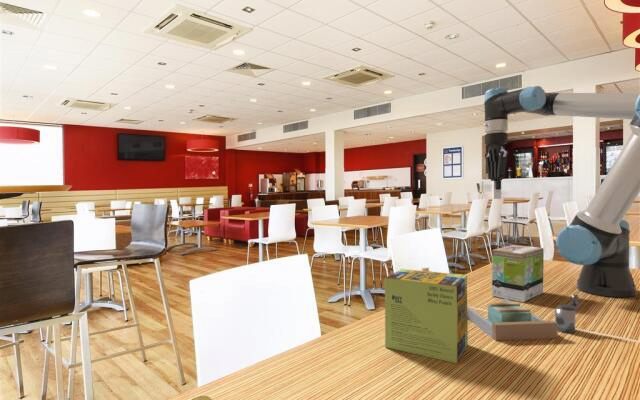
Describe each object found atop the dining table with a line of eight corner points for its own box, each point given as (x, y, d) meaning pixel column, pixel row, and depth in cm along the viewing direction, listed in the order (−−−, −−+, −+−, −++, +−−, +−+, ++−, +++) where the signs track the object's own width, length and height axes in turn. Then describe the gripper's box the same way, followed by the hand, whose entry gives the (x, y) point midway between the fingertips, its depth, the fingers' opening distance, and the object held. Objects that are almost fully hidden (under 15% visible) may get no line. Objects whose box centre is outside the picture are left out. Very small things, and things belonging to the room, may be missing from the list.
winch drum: (571, 326, 92) (571, 292, 92) (583, 332, 88) (583, 297, 88) (551, 327, 92) (551, 293, 92) (562, 333, 88) (562, 298, 88)
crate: (516, 323, 96) (515, 301, 96) (531, 333, 89) (531, 310, 89) (487, 323, 96) (487, 302, 96) (501, 334, 89) (501, 311, 89)
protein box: (458, 364, 75) (457, 285, 74) (384, 348, 83) (383, 277, 82) (469, 344, 83) (468, 274, 83) (401, 331, 92) (400, 267, 91)
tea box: (525, 303, 111) (525, 253, 110) (491, 296, 118) (490, 249, 118) (544, 293, 121) (544, 246, 120) (511, 287, 128) (511, 243, 128)
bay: (506, 307, 107) (506, 295, 107) (556, 338, 86) (556, 322, 86) (457, 309, 107) (457, 297, 107) (495, 340, 85) (495, 325, 85)
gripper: (477, 135, 143) (478, 198, 144) (494, 130, 130) (495, 199, 131) (497, 135, 143) (497, 198, 144) (516, 130, 130) (516, 199, 131)
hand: (496, 198), depth 138 cm, fingers closed
